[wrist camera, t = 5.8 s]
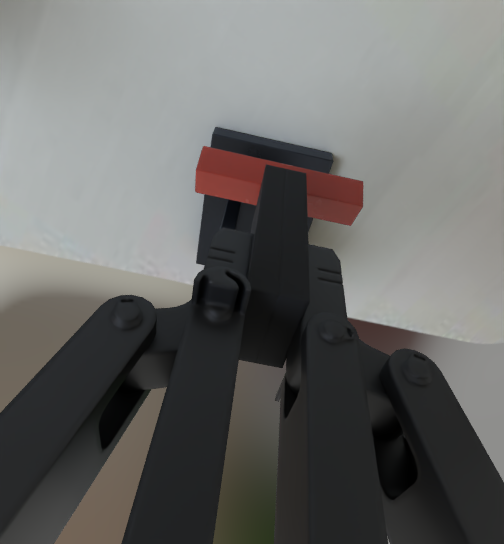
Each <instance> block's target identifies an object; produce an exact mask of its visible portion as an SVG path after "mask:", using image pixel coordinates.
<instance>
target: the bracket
mask: <svg viewBox="0 0 504 544" xmlns="http://www.w3.org/2000/svg"><path fill="white" fill-rule="evenodd" d="M211 148H215V149H220V150H224V151H229V152H233V153H238V154H242V155H247V156H251V157H256V158H260V159H265V160H269V161H274V162H278V163H283V164H287V165H292V166H296V167H301V168H305V169H309V170H314V171H318V172H323V173H327V174H329V172H330V169H331V166H332V163H333V157H332V153H328V152H324V151H319V150H315V149H311V148H306V147H302V146H297V145H293V144H288V143H284V142H280V141H275V140H271V139H266V138H262V137H257V136H253V135H249V134H244V133H240V132H235V131H231V130H227V129H222V128H218V127H215V129H214V132H213V134H212V141H211ZM255 209H256V205H252V204H247V203H243V202H238V201H234V200H229V199H224V198H220V197H215V196H210V195H206V194H205V196H204V204H203V212H202V220H201V228H200V236H199V244H198V252H197V260H196V263H197V264H201V265H205V263H206V260H207V256H208V253H209V249H210V246H211V242H212V239H213V235H215V234H216V233H217V232H218V231H219V230H220V229H221V228H223V227H224V228H228V229H233V230H238V231H243V232H247V233H251V227H252V222H253V218H254V214H255ZM312 220H313V218H312V217H308V232H309V229H310V226H311V223H312Z"/></svg>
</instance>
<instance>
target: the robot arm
mask: <svg viewBox="0 0 504 544" xmlns="http://www.w3.org/2000/svg"><path fill="white" fill-rule="evenodd" d="M341 273H342V272H341V264H340V260H339V259H338V257H337V256H336V254H335V252H334V251H333V249H328V248H323V247H319V246H314V245H309V244H308V213H307V176H306V173H303V172H299V171H294V170H290V169H285V168H281V167H276V166H272V165H267V164H266V166H265V170H264V175H263V179H262V183H261V188H260V192H259V196H258V201H257V205H256V209H255V214H254V218H253V222H252V227H251V233H247V232H243V231H238V230H233V229H228V228H224V227H223V228H221V229H220V230H219V231H218V232H217V233H216V234H215V235H213V239H212V242H211V246H210V249H209V253H208V256H207V260H206V263H205V266H204V270H202V271H201V272H199V273H198V274H197V276H196V278H195V279H194V285H193V293H192V299H191V300H190V301H189V302H187V303H186V304H183V305H180V306H178V307H172V308H161V309H160V308H159V309H155V308H154V306H153V305H152V303H151V302H149V301H147V300H146V299H144V298H143V297H138V296H134V295H121V296H118V297H115V298H112V299H109V300H108V301H107V302H105V303H104V304H103V305H101V306H100V307H99V308H98V309H97V310H96V311H95V312H94V314H93V315H92V316H91V317H90V318H89V319H88V320H87V321H86V322H85V323H84V324H83V325H82V326H81V327H80V329H79V330H78V331H77V332H76V333H75V334H74V335H73V336H72V337H71V338H70V339H69V340H68V341H67V342H66V343H65V344H64V346H63V347H62V348H61V349H60V350H59V351H58V352H57V353H56V354H55V355H54V356H53V357H52V358H51V360H50V361H49V362H48V363H47V364H46V365H45V366H44V367H43V368H42V369H41V370H40V371H39V372H38V373H37V374H36V375H35V376H34V378H33V379H32V380H31V381H30V382H29V383H28V384H27V385H26V386H25V387H24V388H23V389H22V391H20V393H19V394H18V395H17V396H16V397H15V398H14V399H13V400H12V401H11V402H10V403H9V404H8V405H7V406H6V407H5V409H4V410H3V411H2V412H1V413H0V544H54V543H55V541H56V540H57V538H58V536H59V535H60V533H61V531H62V530H63V529H64V527H65V525H66V524H67V522H68V521H69V519H70V518H71V516H72V514H73V513H74V511H75V510H76V508H77V506H78V505H79V503H80V502H81V500H82V499H83V497H84V495H85V494H86V492H87V491H88V489H89V487H90V486H91V484H92V483H93V481H94V480H95V478H96V476H97V475H98V473H99V472H100V470H101V468H102V467H103V465H104V464H105V462H106V461H107V459H108V457H109V456H110V454H111V453H112V451H113V450H114V448H115V446H116V445H117V443H118V442H119V440H120V439H121V437H122V435H123V434H124V432H125V431H126V429H127V427H128V426H129V424H130V423H131V421H132V419H133V418H134V416H135V415H136V413H137V412H138V410H139V408H140V407H141V405H142V404H143V402H144V401H145V399H146V397H147V396H148V394H149V393H150V391H151V389H156V388H164V387H167V389H166V393H165V396H164V399H163V403H162V406H161V410H160V413H159V417H158V420H157V423H156V427H155V430H154V434H153V437H152V441H151V444H150V448H149V451H148V454H147V458H146V462H145V465H144V468H143V472H142V475H141V478H140V482H139V486H138V489H137V492H136V496H135V499H134V502H133V506H132V509H131V513H130V516H129V520H128V523H127V527H126V530H125V533H124V537H123V540H122V544H213V538H214V530H215V523H216V516H217V509H218V502H219V495H220V488H221V481H222V474H223V466H224V460H225V452H226V445H227V438H228V431H229V424H230V417H231V410H232V402H233V396H234V389H235V381H236V374H237V367H238V360H243V361H248V362H254V363H259V364H263V365H268V366H274V367H279V368H283V365H284V362H285V360H286V373H285V376H284V378H283V380H282V383H281V385H280V387H279V390H278V392H277V395H276V398H275V401H279V400H280V397H281V401H280V424H279V446H278V468H277V491H276V513H275V535H274V536H275V537H274V544H388V539H389V542H390V544H504V482H503V480H502V478H501V477H500V475H499V473H498V471H497V470H496V468H495V466H494V464H493V462H492V461H491V459H490V457H489V455H488V454H487V452H486V450H485V448H484V447H483V445H482V443H481V441H480V439H479V438H478V436H477V434H476V432H475V431H474V429H473V427H472V426H471V424H470V422H469V420H468V418H467V416H466V415H465V413H464V411H463V410H462V408H461V406H460V404H459V402H458V401H457V399H456V397H455V395H454V394H453V392H452V390H451V388H450V386H449V385H448V383H447V381H446V380H445V378H444V376H443V374H442V372H441V371H440V370H439V368H438V367H437V366H436V364H435V363H434V362H433V361H432V360H430V359H429V358H428V357H427V356H425V355H424V354H422V353H420V352H417V351H415V350H410V349H400V350H396V351H395V352H394V353H393V354H392V355H391V356H389V355H387V354H385V353H383V352H381V351H379V350H376V349H375V348H372V347H371V346H369V345H367V344H365V343H364V342H363V341H361V340H360V339H359V337H358V334H357V331H356V329H355V328H354V327H353V326H352V325H351V323H350V322H349V321H348V320H347V313H346V304H345V296H344V288H343V285H342V283H343V280H342V275H341ZM286 358H287V359H286ZM387 536H388V539H387Z"/></svg>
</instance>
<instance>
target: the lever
mask: <svg viewBox="0 0 504 544" xmlns="http://www.w3.org/2000/svg"><path fill="white" fill-rule="evenodd" d="M266 164H267V165H272V166H276V167H281V168H285V169H290V170H294V171H299V172H303V173H306V176H307V213H308V217H312V218H317V219H321V220H326V221H330V222H335V223H340V224H344V225H349V226H351V225H352V223H353V222H354V220H355V218H356V217H357V215H358V214H359V212H360V210H361V209H362V207H363V181H359V180H354V179H350V178H345V177H341V176H336V175H332V174H327V173H323V172H318V171H314V170H309V169H305V168H301V167H296V166H292V165H287V164H283V163H278V162H274V161H269V160H265V159H260V158H256V157H251V156H247V155H242V154H238V153H233V152H229V151H224V150H220V149H215V148H211V147H206V146H203V148H202V151H201V155H200V158H199V161H198V165H197V168H196V183H195V192H197V193H201V194H206V195H210V196H215V197H220V198H224V199H229V200H234V201H238V202H243V203H247V204H252V205H257V201H258V196H259V192H260V188H261V183H262V179H263V175H264V170H265V166H266Z"/></svg>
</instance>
